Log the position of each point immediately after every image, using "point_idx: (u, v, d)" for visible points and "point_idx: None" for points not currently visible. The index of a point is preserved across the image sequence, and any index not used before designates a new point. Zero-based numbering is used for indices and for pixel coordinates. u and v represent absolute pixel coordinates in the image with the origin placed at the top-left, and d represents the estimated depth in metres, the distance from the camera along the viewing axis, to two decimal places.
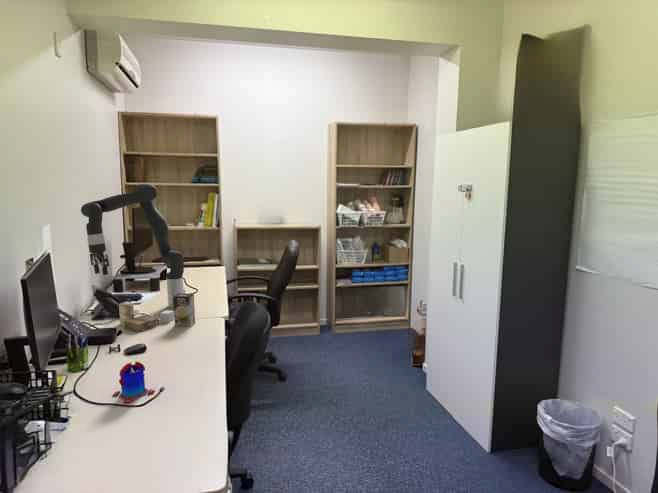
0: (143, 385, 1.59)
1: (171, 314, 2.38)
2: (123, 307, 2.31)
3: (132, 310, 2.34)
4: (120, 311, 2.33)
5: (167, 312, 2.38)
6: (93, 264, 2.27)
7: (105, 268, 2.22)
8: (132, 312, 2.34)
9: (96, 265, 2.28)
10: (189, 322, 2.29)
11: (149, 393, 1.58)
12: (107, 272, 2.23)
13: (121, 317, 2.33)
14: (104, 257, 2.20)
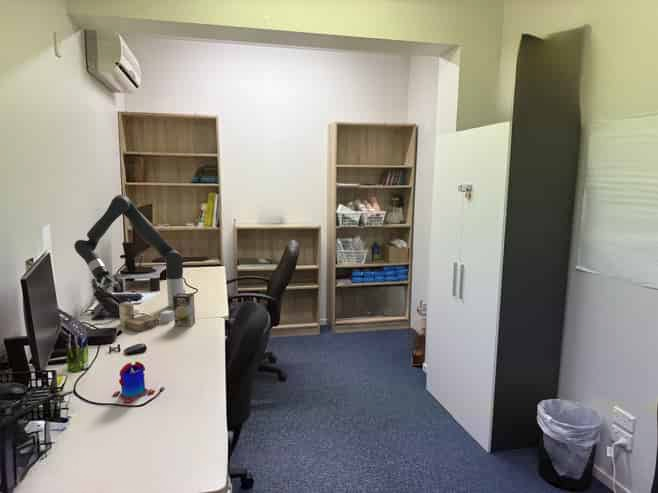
0: (143, 385, 1.59)
1: (171, 314, 2.38)
2: (123, 307, 2.31)
3: (132, 310, 2.34)
4: (120, 311, 2.33)
5: (167, 312, 2.38)
6: None
7: (100, 289, 2.35)
8: (132, 312, 2.34)
9: (115, 284, 2.43)
10: (189, 322, 2.29)
11: (149, 393, 1.58)
12: (102, 292, 2.34)
13: (121, 317, 2.33)
14: (91, 282, 2.36)
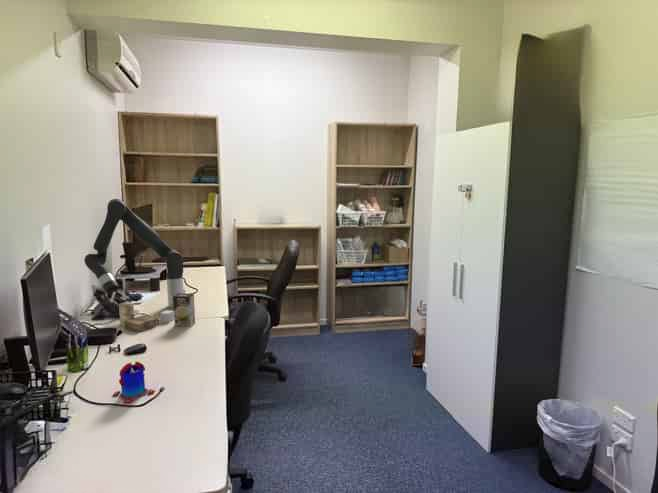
0: (143, 385, 1.59)
1: (171, 314, 2.38)
2: (123, 307, 2.31)
3: (132, 310, 2.34)
4: (120, 311, 2.33)
5: (167, 312, 2.38)
6: None
7: (110, 304, 2.32)
8: (132, 312, 2.34)
9: (126, 299, 2.40)
10: (189, 322, 2.29)
11: (149, 393, 1.58)
12: (113, 307, 2.31)
13: (121, 317, 2.33)
14: (102, 297, 2.32)
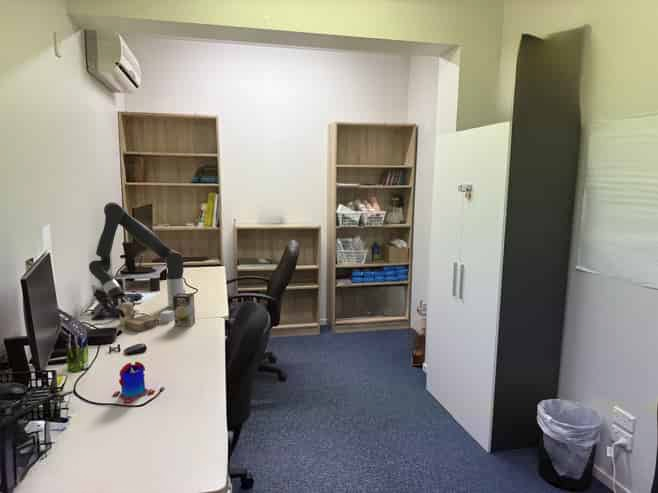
0: (143, 385, 1.59)
1: (171, 314, 2.38)
2: (123, 307, 2.31)
3: (132, 310, 2.34)
4: None
5: (167, 312, 2.38)
6: None
7: (119, 312, 2.31)
8: (132, 312, 2.34)
9: None
10: (189, 322, 2.29)
11: (149, 393, 1.58)
12: (121, 315, 2.30)
13: (121, 317, 2.33)
14: (108, 305, 2.31)
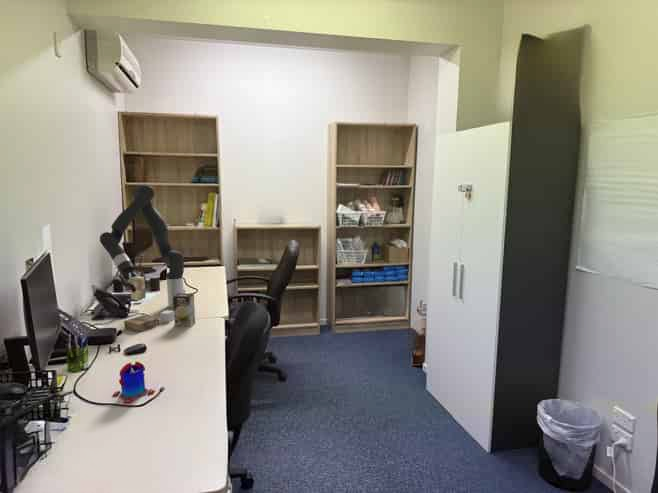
0: (143, 385, 1.59)
1: (171, 314, 2.38)
2: (134, 281, 2.22)
3: (143, 284, 2.26)
4: None
5: (167, 312, 2.38)
6: None
7: (129, 286, 2.23)
8: (143, 287, 2.26)
9: None
10: (189, 322, 2.29)
11: (149, 393, 1.58)
12: (132, 289, 2.22)
13: (132, 292, 2.25)
14: (119, 279, 2.22)
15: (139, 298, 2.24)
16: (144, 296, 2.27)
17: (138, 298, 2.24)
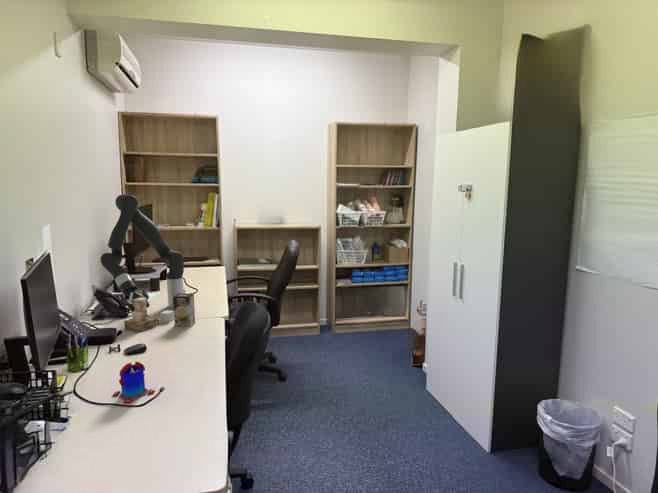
0: (143, 385, 1.59)
1: (171, 314, 2.38)
2: (136, 303, 2.24)
3: (145, 306, 2.28)
4: None
5: (167, 312, 2.38)
6: None
7: (128, 306, 2.23)
8: (145, 308, 2.28)
9: None
10: (189, 322, 2.29)
11: (149, 393, 1.58)
12: (131, 308, 2.23)
13: (134, 313, 2.26)
14: (119, 298, 2.24)
15: (141, 319, 2.26)
16: (146, 317, 2.29)
17: (140, 320, 2.26)
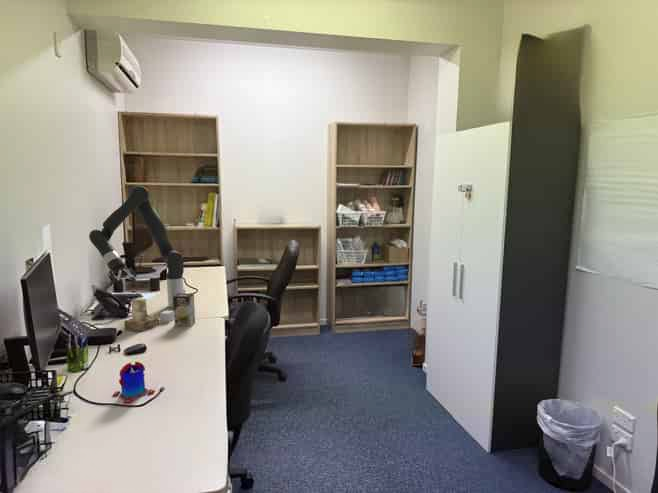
0: (143, 385, 1.59)
1: (171, 314, 2.38)
2: (136, 303, 2.24)
3: (145, 306, 2.28)
4: (133, 307, 2.26)
5: (167, 312, 2.38)
6: (130, 278, 2.37)
7: (117, 282, 2.28)
8: (145, 308, 2.28)
9: (131, 278, 2.36)
10: (189, 322, 2.29)
11: (149, 393, 1.58)
12: (120, 285, 2.27)
13: (134, 313, 2.26)
14: (108, 274, 2.28)
15: (141, 319, 2.26)
16: (146, 317, 2.29)
17: (140, 320, 2.26)
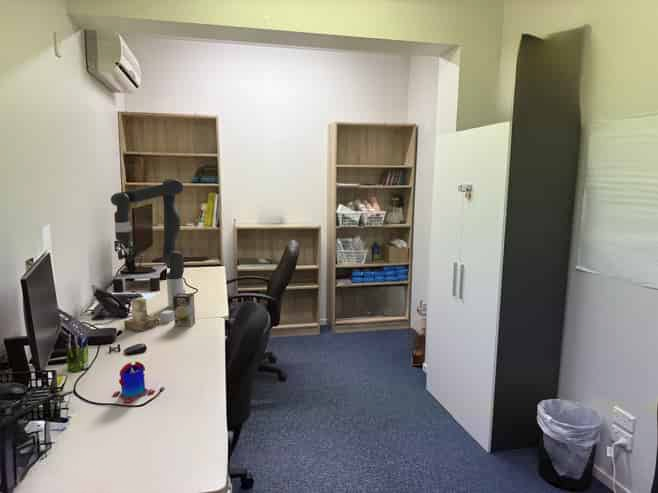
0: (143, 385, 1.59)
1: (171, 314, 2.38)
2: (136, 303, 2.24)
3: (145, 306, 2.28)
4: (133, 307, 2.26)
5: (167, 312, 2.38)
6: (117, 250, 2.41)
7: (130, 254, 2.37)
8: (145, 308, 2.28)
9: (120, 252, 2.42)
10: (189, 322, 2.29)
11: (149, 393, 1.58)
12: None
13: (134, 313, 2.26)
14: (130, 244, 2.35)
15: (141, 319, 2.26)
16: (146, 317, 2.29)
17: (140, 320, 2.26)
